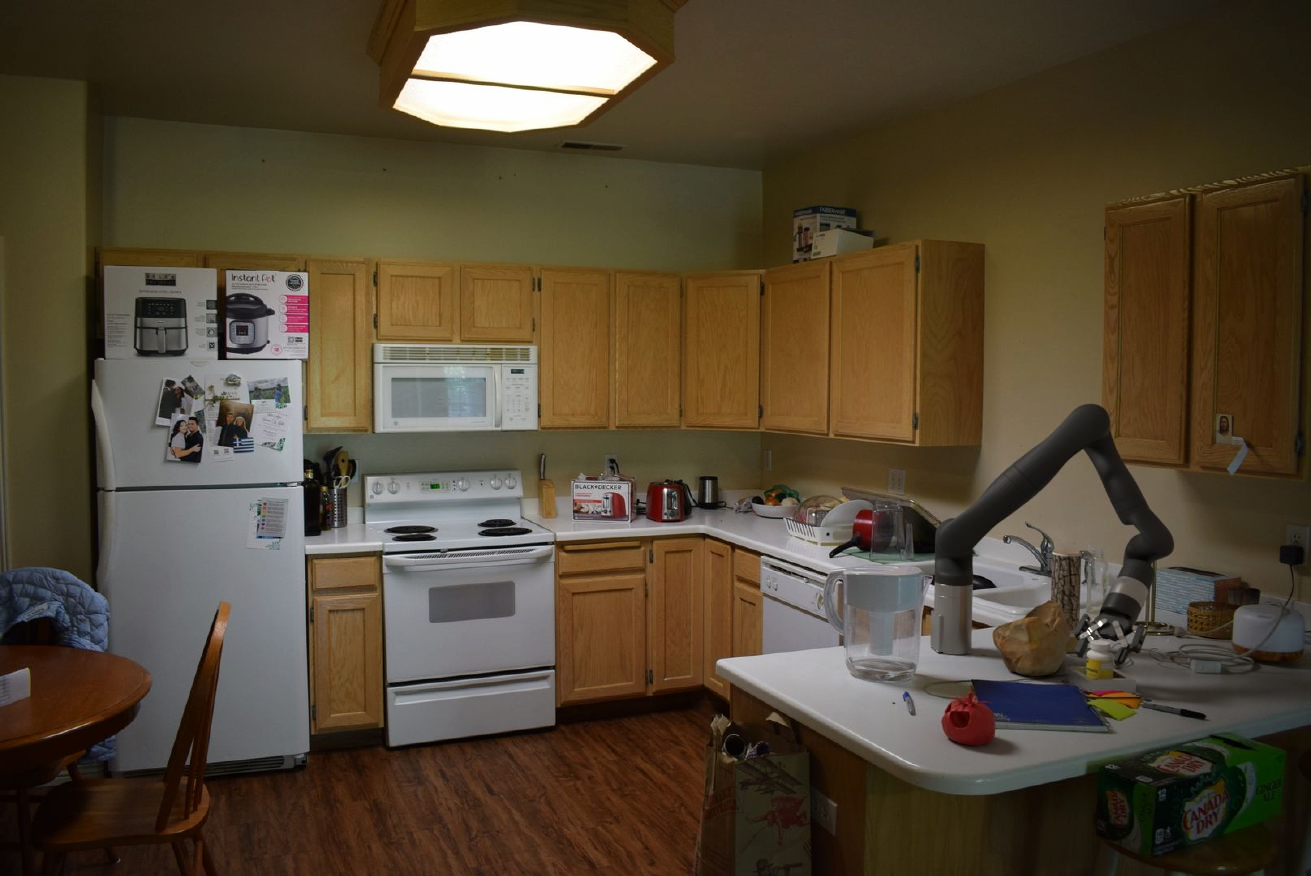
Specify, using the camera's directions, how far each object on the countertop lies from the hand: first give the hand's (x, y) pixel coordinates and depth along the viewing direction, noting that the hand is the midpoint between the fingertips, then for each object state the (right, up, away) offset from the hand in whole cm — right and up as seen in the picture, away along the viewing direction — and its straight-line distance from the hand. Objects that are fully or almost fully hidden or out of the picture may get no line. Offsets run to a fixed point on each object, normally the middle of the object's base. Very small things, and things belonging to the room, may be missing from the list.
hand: (1097, 659), depth 212 cm
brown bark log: (+7, -6, +34) cm, 36 cm away
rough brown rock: (-8, -6, +20) cm, 22 cm away
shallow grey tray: (+1, -7, +1) cm, 7 cm away
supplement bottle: (+1, -6, +1) cm, 7 cm away
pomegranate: (-38, -8, -31) cm, 50 cm away
